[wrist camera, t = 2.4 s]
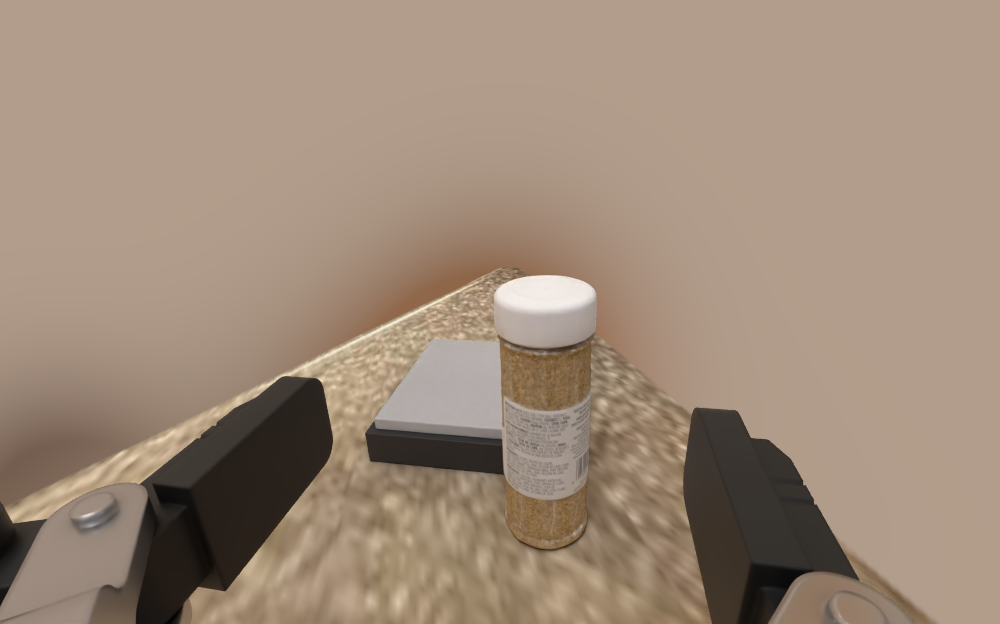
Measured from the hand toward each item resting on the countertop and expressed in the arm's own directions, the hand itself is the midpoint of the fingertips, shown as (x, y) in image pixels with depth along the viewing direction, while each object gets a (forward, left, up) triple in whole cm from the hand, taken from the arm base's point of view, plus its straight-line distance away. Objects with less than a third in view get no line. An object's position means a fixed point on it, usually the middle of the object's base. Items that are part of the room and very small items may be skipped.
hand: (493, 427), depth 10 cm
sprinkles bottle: (0, -12, -14) cm, 18 cm away
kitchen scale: (+5, -21, -14) cm, 26 cm away
